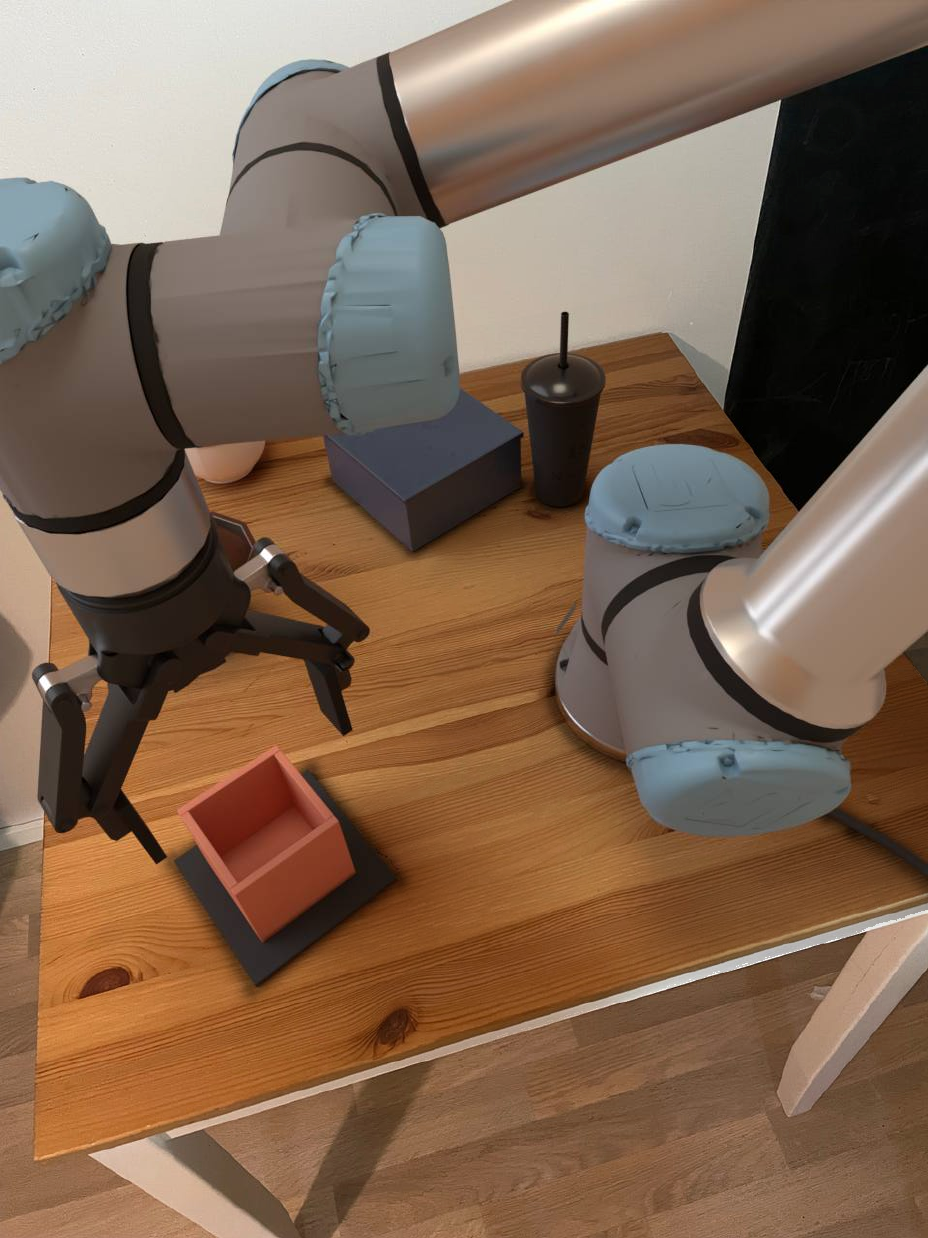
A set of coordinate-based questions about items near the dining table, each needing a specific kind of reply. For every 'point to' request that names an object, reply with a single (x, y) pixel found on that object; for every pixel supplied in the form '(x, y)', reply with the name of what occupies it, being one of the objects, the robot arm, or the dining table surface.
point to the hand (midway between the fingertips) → (248, 780)
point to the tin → (429, 469)
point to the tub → (269, 841)
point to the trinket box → (225, 461)
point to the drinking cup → (561, 419)
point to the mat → (307, 926)
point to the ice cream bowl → (234, 539)
